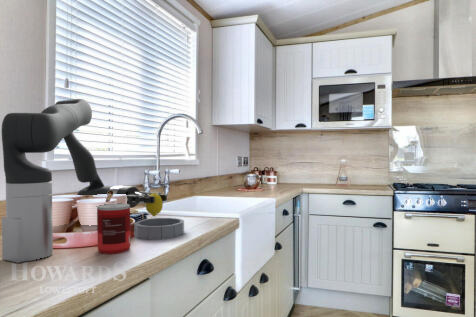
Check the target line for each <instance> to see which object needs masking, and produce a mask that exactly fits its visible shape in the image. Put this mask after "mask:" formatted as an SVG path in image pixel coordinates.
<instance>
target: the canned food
mask: <svg viewBox="0 0 476 317" xmlns="http://www.w3.org/2000/svg"><path fill="white" fill-rule="evenodd" d="M96 222H97V223H96V225H97V226H96V227H97V230H96V233H97V234H96V235H97V250H98V252H99V253H100V254H103V253H106V255H114V253H116V254H122V253H125V252H128V251H129V250H130V248H131V208H130V205H129V204H122V203H117V204H104V205H99V206H96ZM121 252H122V253H121Z"/></svg>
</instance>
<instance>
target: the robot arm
mask: <svg viewBox="0 0 476 317" xmlns="http://www.w3.org/2000/svg"><path fill="white" fill-rule="evenodd" d="M92 117H93V110H92V107H91V105H90V103H89V102H88V100H85V99H83V98H73V99H67V100H65V99H64V100H58V101H57V102H55V103H54V104H53V105H50V106H48V107H45V108H44V109H43V110H42V111H41V112H9V113H7V114H6V115H5V116H4V117H3V119H2V122H1V123H2V124H1V142H2V143H1V144H2V145H1V146H2V157H3V172H4V176H5V216H3V217H1V238H2V239H1V241H2V242H1V245H2V246H1V248H2V250H1V252H2V257H1V258H2V260H5V261H8V262H12V263H16V264H17V263H23V262H31V261H37V260H41V259H40V258H42V259H45V258H47V256H48V257H50V256H52V255H53V254H52V253H54V242H53V241H54V240H53V238H54V236H53V182H52V181H53V179H52V178H53V176H52V175H53V173H52V171H51V169H49V168H46V167H44V166H39V165H38V164H34V163H33V162H31V161H29V160H28V157H27V156H26V154H35V153H36V154H38V153H39V154H41V153H50V152H52V151H53V150H55V149H56V148H57V147H58V146H59V144H60V143H61V141H63V140H64V142H65V144H66V145H65V146H66V147H67V149H68V152H69V154H70V156H71V157H70V158H71V160H72V164H73V166H74V172H75V174H76V178H77V180H78V182H80V183H84V184H86V183H89V185H87V186H85V187H84V188H81V189H80V190H79V191H78V192H77V194H76V196H77V195H97V194H107V195H108V192H109V191H113V194H126V195H127V204H129V205H130V209H133V208H135V207H137V205H140V204H146V203H154V202H155V197H154V196H149V195H151V194H153V193H154V192H153V191H140V190H139V189H138V187H136V186H133V185H132V186H131V185H115V186H113V185H105V184H104V183H103V181H102V179H101V178H100V176H99V175H100V174H98V171H97V166H96V163H95V158H94V156H93V154H92V152H91V151H89V149H88V148H86V147H85V146H84V144H82V142H80V140H79V139H78V138H77V137H76V135H75V134H74V131H76V130H78V129H79V128H80V127H82V126H86V125H89V124H90V122H91V120H92ZM155 193H156V194H158V195H159V196H160V197H161V199H162V202H167V200H168V196H167V194H164V193H161V192H155ZM51 254H52V255H51ZM44 257H45V258H44ZM36 259H37V260H36Z"/></svg>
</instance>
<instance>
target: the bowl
mask: <svg viewBox="0 0 476 317" xmlns="http://www.w3.org/2000/svg"><path fill="white" fill-rule="evenodd" d="M133 225H134V226H133V227H134V229H133V231H134V234H133V236H134V237H136V238H137V239H143V240H167V239H173V238H177V237H180V236H181V237H182V236H183V235H184V233H185V220H184V219H181V218H177V217H156V218H155V217H153V218H145V219H142V220H138V221H136V222H134V223H133Z"/></svg>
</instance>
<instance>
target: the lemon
mask: <svg viewBox="0 0 476 317" xmlns="http://www.w3.org/2000/svg"><path fill="white" fill-rule="evenodd" d="M156 193H157V192H153V194H151V195H149V194H148V195H149V196H154V197H155V202H154V203H145V209H146V211H147V213H148V214H150V215H152V217H156V216H157V215H158V214H160V213H161V211H162V210H163V207H164V206H163V205H164V202H163V201H162V199H161V197H160V196H159V195H158V194H156Z"/></svg>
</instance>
